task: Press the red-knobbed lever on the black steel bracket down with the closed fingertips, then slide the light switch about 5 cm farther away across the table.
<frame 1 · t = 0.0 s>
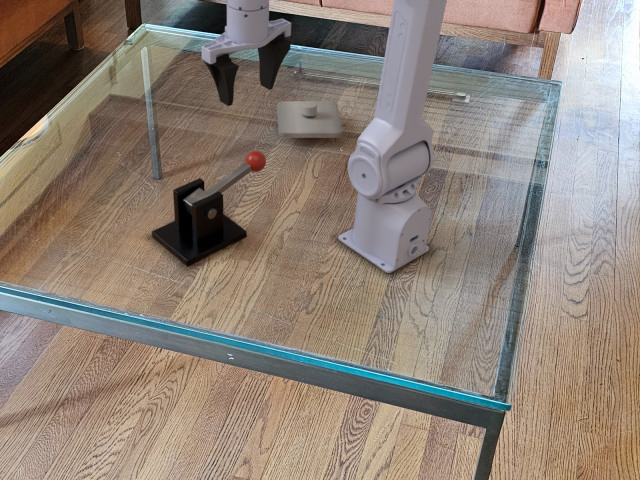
hand: (246, 94, 122), 10 cm above the table, tool pointing down, fingers open, 7 cm apart
lever: (227, 182, 111), point 7 cm above the table, hinge at 15.0°
bracket: (199, 237, 113), on the table
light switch: (307, 133, 134), on the table
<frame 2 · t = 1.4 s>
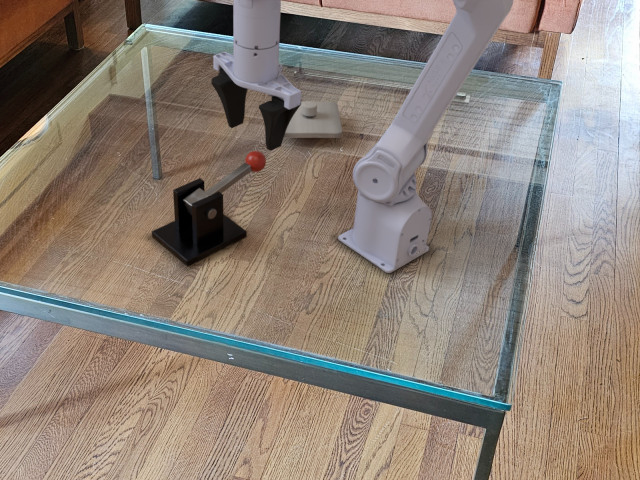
hand: (254, 136, 113), 10 cm above the table, tool pointing down, fingers open, 7 cm apart
nothing on the table moved.
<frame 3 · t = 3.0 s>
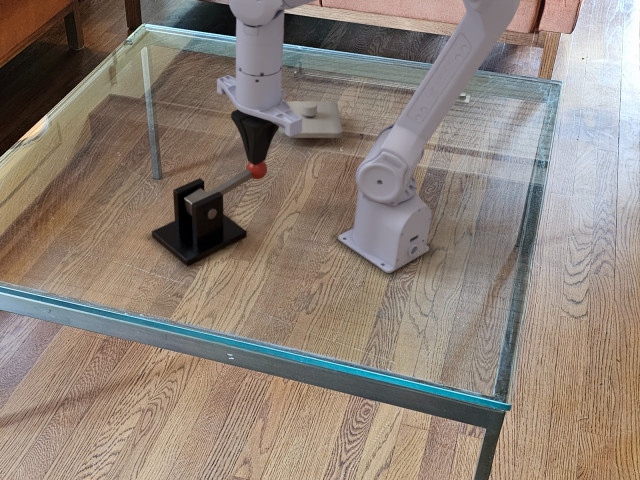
hand: (256, 160, 112), 8 cm above the table, tool pointing down, fingers closed, pressing on lever
lever: (228, 185, 111), point 6 cm above the table, hinge at 7.5°, touching gripper
everything else where it was.
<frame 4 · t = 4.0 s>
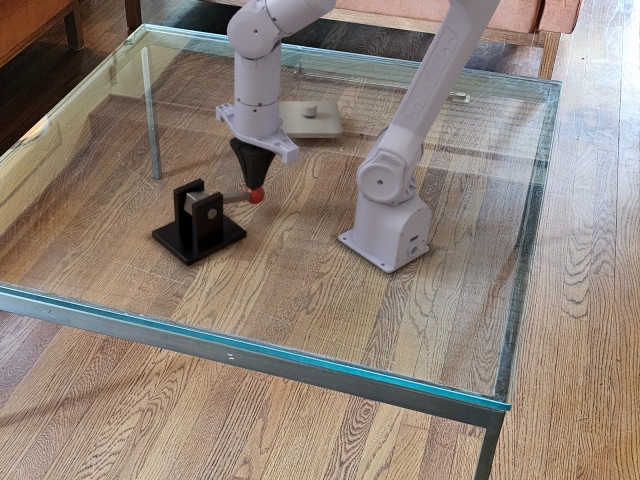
hand: (254, 185, 115), 4 cm above the table, tool pointing down, fingers closed, pressing on lever
lever: (227, 198, 112), point 4 cm above the table, hinge at -15.5°, touching gripper
everything else where it was.
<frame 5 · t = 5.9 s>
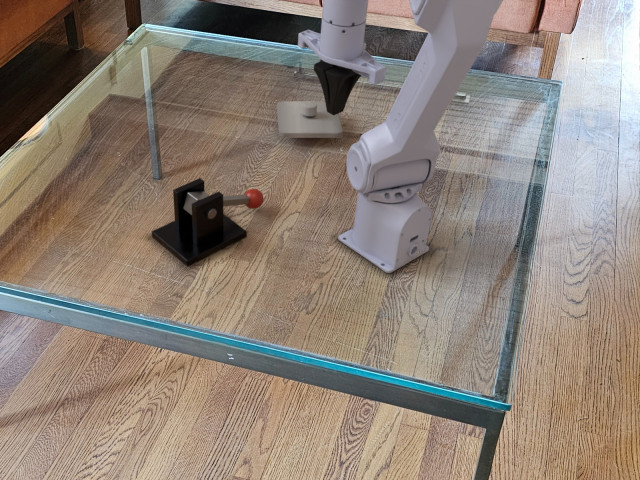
hand: (335, 111, 117), 10 cm above the table, tool pointing down, fingers closed
lever: (226, 201, 113), point 4 cm above the table, hinge at -19.6°
everything else where it was.
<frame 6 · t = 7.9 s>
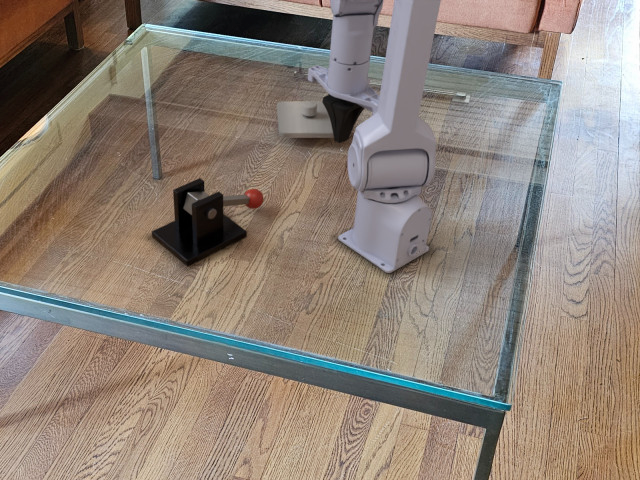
hand: (341, 139, 128), 2 cm above the table, tool pointing down, fingers closed
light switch: (307, 133, 134), on the table, touching gripper
everything else where it was.
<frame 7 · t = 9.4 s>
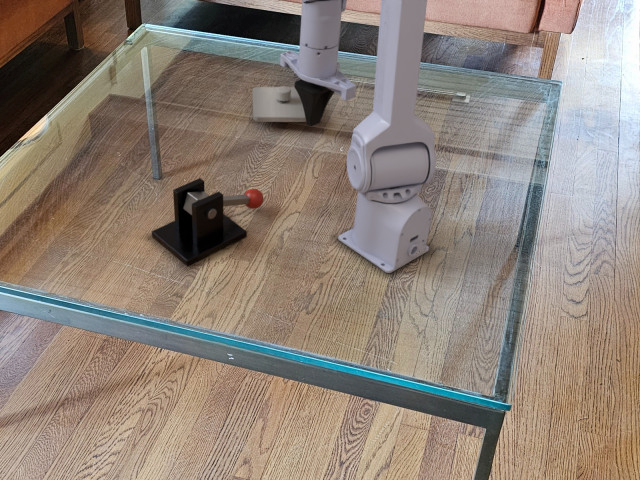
hand: (313, 123, 131), 2 cm above the table, tool pointing down, fingers closed
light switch: (282, 117, 137), on the table, touching gripper
everything else where it was.
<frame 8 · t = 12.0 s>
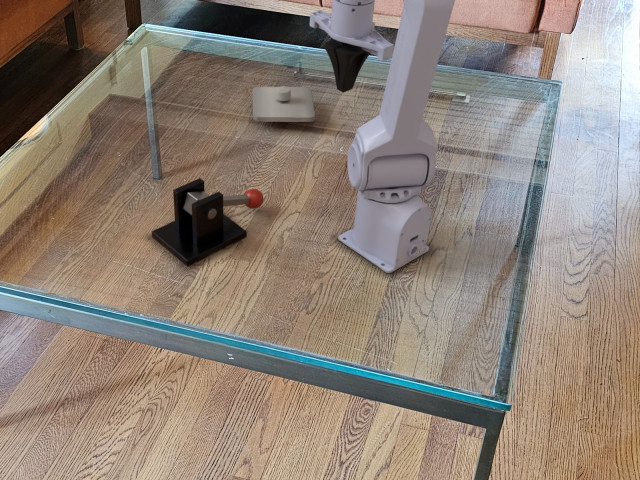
hand: (344, 89, 122), 10 cm above the table, tool pointing down, fingers closed
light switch: (282, 117, 137), on the table
everything else where it was.
at the end: lever at -20° (first picture: +15°); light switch 0.3 cm from the target spot, on the table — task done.
